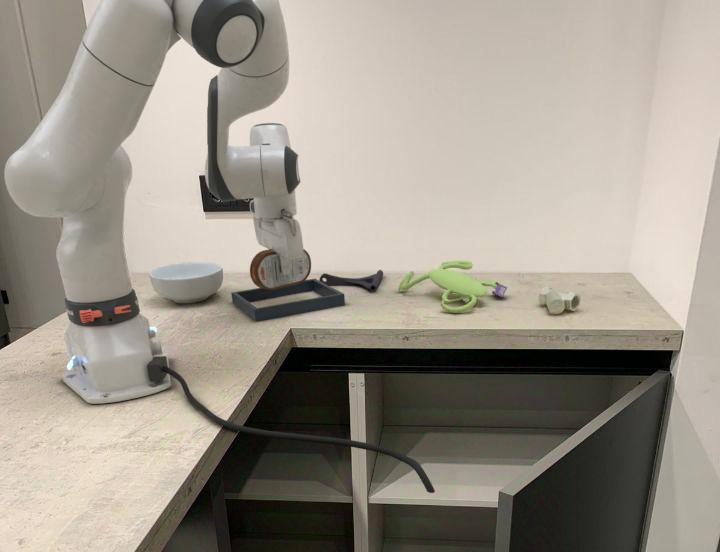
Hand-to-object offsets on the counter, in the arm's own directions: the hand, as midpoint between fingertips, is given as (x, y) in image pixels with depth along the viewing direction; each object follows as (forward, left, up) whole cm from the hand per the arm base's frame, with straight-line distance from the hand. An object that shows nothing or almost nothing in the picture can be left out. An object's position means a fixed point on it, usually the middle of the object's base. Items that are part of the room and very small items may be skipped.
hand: (281, 272), depth 164 cm
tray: (-1, -1, -7) cm, 7 cm away
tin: (0, 0, -3) cm, 3 cm away
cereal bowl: (+17, +17, -7) cm, 26 cm away
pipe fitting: (-39, -45, -7) cm, 60 cm away
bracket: (+6, -20, -7) cm, 22 cm away
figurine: (-17, -34, -7) cm, 39 cm away
